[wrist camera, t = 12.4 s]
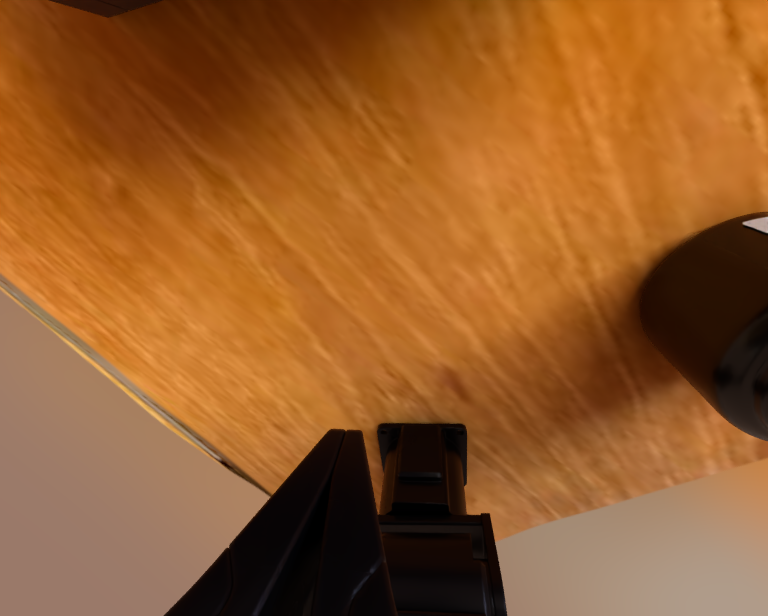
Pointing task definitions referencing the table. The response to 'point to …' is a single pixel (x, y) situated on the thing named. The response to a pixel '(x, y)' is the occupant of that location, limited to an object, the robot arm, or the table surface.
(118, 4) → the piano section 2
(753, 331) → the ink bottle
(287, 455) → the table surface
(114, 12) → the black hollow block
